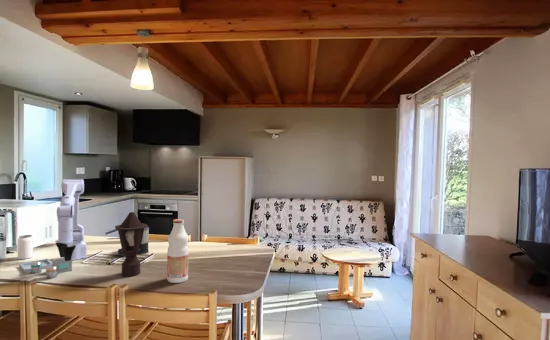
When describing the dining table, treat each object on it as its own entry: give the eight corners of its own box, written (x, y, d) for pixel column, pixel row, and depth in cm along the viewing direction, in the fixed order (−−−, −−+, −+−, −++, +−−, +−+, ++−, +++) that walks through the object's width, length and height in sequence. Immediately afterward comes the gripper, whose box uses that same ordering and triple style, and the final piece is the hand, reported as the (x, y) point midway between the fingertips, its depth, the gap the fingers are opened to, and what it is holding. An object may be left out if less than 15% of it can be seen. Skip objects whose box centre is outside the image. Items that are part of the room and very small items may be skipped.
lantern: (147, 267, 162) (148, 209, 161) (147, 277, 148) (148, 214, 147) (115, 270, 156) (116, 210, 155) (112, 281, 143) (112, 215, 142)
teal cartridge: (40, 270, 154) (40, 260, 154) (42, 272, 151) (42, 262, 151) (29, 272, 151) (29, 262, 151) (31, 274, 148) (31, 264, 148)
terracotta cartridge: (55, 274, 148) (55, 264, 148) (58, 277, 146) (58, 266, 146) (45, 277, 145) (45, 266, 145) (47, 279, 143) (47, 268, 143)
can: (15, 260, 168) (15, 237, 167) (21, 256, 174) (21, 235, 174) (29, 259, 169) (29, 237, 169) (35, 255, 176) (35, 234, 175)
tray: (48, 261, 167) (48, 258, 167) (54, 266, 159) (54, 264, 159) (19, 266, 158) (19, 263, 158) (24, 272, 150) (24, 269, 150)
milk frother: (151, 250, 191) (152, 226, 190) (137, 258, 175) (138, 232, 175) (129, 249, 192) (130, 225, 192) (113, 257, 177) (114, 231, 176)
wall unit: (68, 268, 158) (68, 255, 158) (72, 270, 154) (72, 258, 154) (51, 271, 153) (52, 258, 152) (55, 274, 149) (55, 261, 149)
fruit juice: (173, 285, 140) (174, 222, 139) (163, 279, 146) (164, 219, 145) (192, 279, 147) (193, 220, 146) (181, 274, 153) (182, 217, 152)
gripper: (51, 229, 151) (51, 257, 151) (60, 234, 141) (59, 264, 142) (68, 227, 156) (68, 254, 157) (77, 232, 146) (77, 260, 147)
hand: (65, 258), depth 149 cm, fingers open, 7 cm apart
